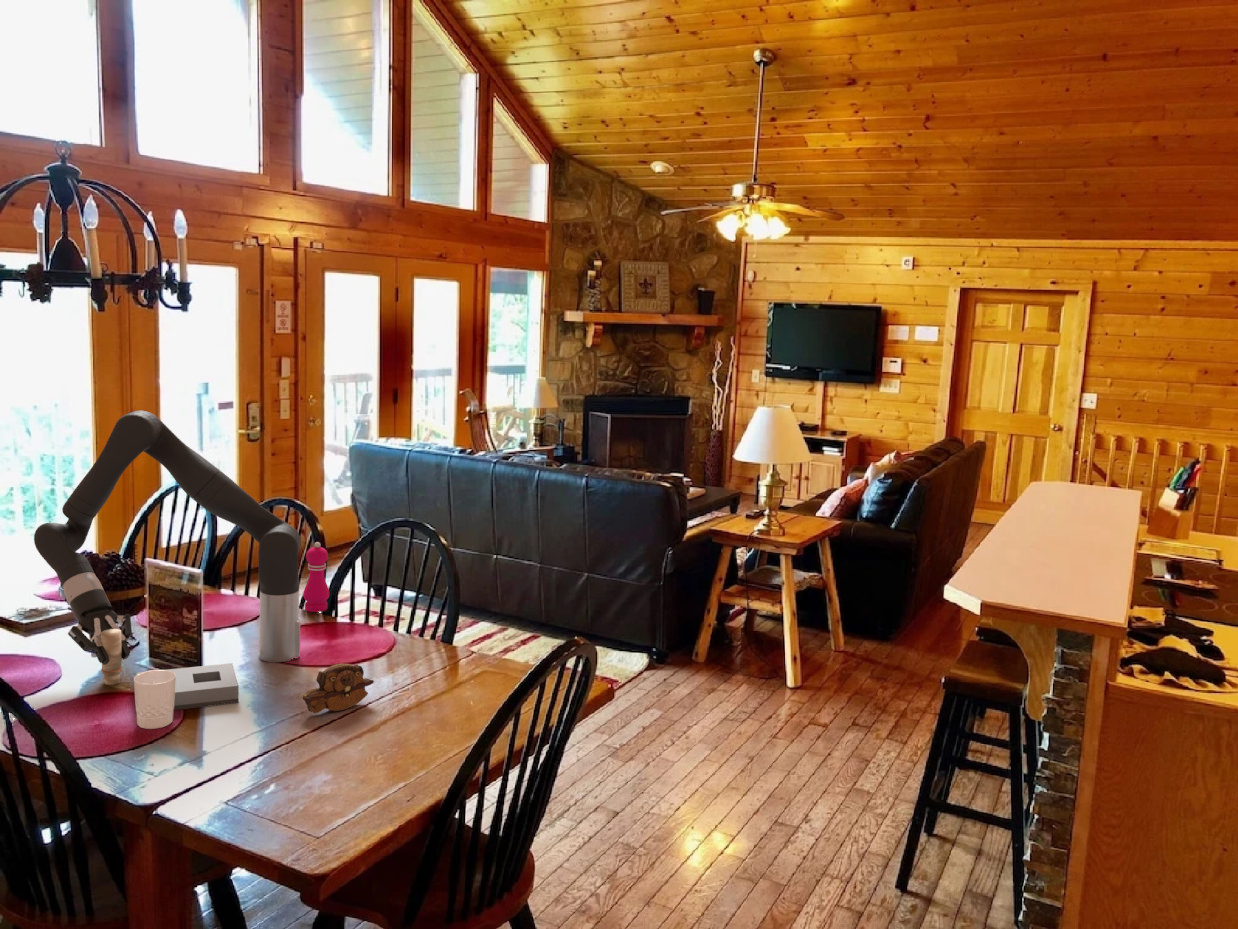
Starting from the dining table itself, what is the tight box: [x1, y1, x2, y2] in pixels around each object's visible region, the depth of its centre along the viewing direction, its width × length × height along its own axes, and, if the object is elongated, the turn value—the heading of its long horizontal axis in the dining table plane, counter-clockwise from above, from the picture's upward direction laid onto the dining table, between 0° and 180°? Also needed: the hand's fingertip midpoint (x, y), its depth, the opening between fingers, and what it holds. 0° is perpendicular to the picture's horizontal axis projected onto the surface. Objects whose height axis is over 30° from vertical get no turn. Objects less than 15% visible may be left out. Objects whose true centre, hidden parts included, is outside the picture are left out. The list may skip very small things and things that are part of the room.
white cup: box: [133, 669, 176, 730], centre depth 200 cm, size 8×8×10 cm
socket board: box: [136, 662, 240, 711], centre depth 214 cm, size 20×14×4 cm
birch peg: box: [101, 629, 123, 686], centre depth 218 cm, size 4×4×12 cm
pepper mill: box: [302, 541, 330, 613], centre depth 277 cm, size 7×7×20 cm
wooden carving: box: [302, 663, 374, 714], centre depth 212 cm, size 16×5×10 cm, turn 140°
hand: (116, 659), depth 217 cm, fingers closed on birch peg, 4 cm apart
